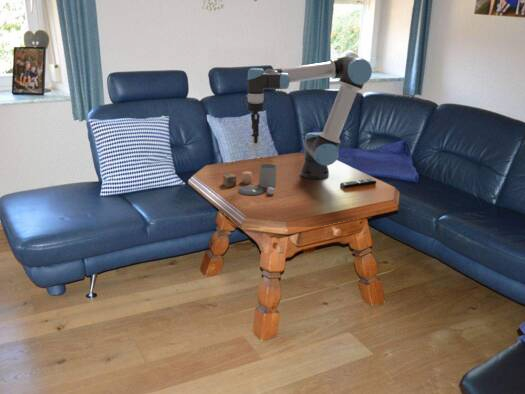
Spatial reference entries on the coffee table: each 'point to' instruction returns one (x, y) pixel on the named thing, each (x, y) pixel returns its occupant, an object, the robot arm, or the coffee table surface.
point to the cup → (267, 175)
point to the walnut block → (229, 180)
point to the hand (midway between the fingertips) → (254, 145)
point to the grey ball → (270, 190)
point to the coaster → (251, 190)
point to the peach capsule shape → (246, 177)
